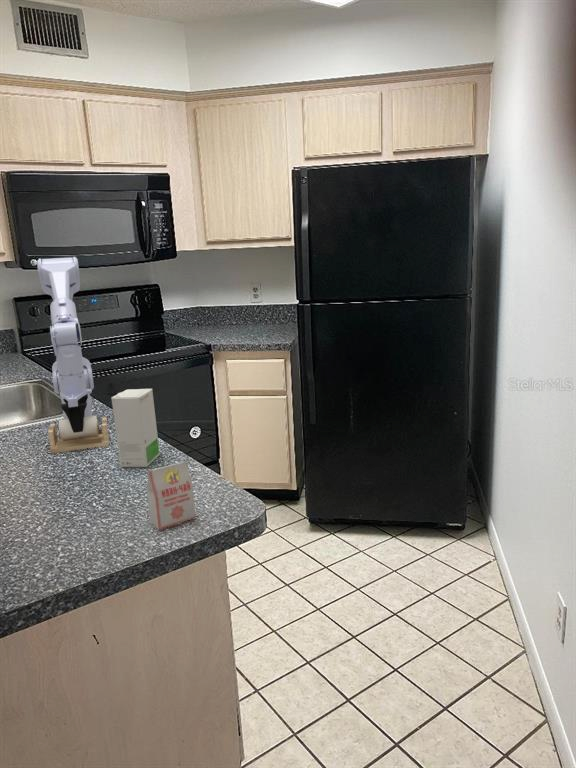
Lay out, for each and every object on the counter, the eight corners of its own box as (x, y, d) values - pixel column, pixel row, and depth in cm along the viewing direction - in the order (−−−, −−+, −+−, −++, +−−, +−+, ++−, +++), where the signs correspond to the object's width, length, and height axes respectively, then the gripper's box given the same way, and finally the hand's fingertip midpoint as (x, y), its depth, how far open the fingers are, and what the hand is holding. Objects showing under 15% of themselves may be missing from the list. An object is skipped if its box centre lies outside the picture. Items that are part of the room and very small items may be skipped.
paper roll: (59, 441, 141) (56, 421, 141) (61, 439, 145) (58, 419, 145) (99, 436, 143) (96, 416, 143) (99, 434, 148) (97, 415, 148)
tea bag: (150, 522, 103) (144, 467, 101) (186, 511, 107) (181, 458, 104) (158, 530, 100) (152, 474, 98) (195, 518, 104) (190, 464, 101)
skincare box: (146, 468, 128) (139, 397, 124) (117, 468, 129) (108, 397, 125) (160, 454, 136) (154, 387, 132) (133, 454, 137) (125, 387, 133)
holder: (53, 442, 147) (50, 423, 146) (108, 435, 151) (106, 416, 149) (50, 453, 140) (47, 432, 138) (108, 445, 143) (106, 425, 142)
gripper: (88, 377, 135) (95, 435, 138) (90, 365, 149) (96, 418, 152) (55, 381, 133) (63, 439, 137) (59, 368, 147) (67, 421, 150)
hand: (78, 428), depth 144 cm, fingers closed on paper roll, 5 cm apart
